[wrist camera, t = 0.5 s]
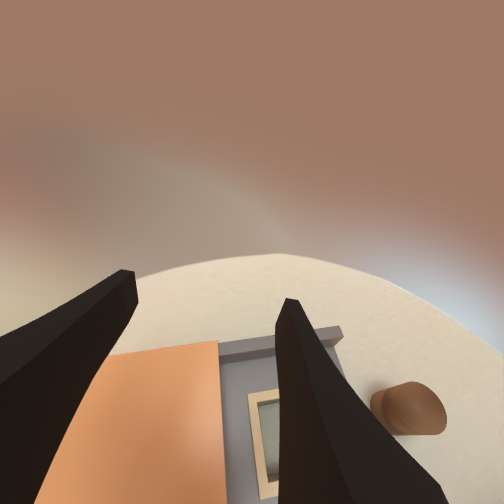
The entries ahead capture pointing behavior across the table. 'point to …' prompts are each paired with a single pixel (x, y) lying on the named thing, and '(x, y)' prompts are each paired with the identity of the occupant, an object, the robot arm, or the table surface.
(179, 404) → the lid
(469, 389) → the table surface
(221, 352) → the housing
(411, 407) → the brown cylinder
